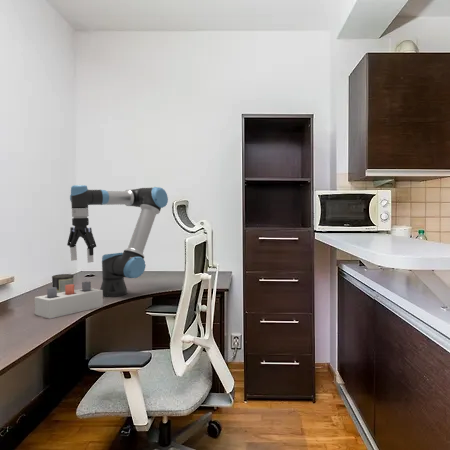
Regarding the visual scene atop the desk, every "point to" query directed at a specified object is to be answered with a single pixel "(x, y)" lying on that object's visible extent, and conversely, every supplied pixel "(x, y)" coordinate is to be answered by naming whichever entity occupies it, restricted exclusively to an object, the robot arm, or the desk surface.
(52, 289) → the charcoal plug
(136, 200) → the robot arm
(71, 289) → the red plug
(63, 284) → the coffee can
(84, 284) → the charcoal plug
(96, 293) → the panel
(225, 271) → the desk surface
